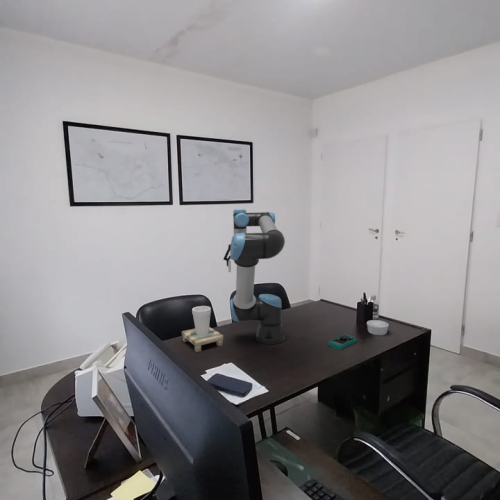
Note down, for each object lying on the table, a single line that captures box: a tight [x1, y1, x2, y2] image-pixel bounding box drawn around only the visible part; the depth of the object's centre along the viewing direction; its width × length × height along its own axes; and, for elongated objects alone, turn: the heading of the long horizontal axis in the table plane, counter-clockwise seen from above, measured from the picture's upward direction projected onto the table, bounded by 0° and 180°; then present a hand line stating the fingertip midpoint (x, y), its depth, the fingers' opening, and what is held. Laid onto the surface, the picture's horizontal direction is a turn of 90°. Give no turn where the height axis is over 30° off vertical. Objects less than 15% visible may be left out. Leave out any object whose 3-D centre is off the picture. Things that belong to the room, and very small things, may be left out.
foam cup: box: [191, 305, 212, 335], centre depth 173 cm, size 10×9×13 cm
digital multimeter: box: [328, 334, 357, 351], centre depth 170 cm, size 7×15×3 cm, turn 131°
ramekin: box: [366, 319, 390, 336], centre depth 185 cm, size 11×11×5 cm
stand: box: [181, 326, 224, 353], centre depth 174 cm, size 18×15×5 cm
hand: (240, 272), depth 198 cm, fingers open, 13 cm apart
